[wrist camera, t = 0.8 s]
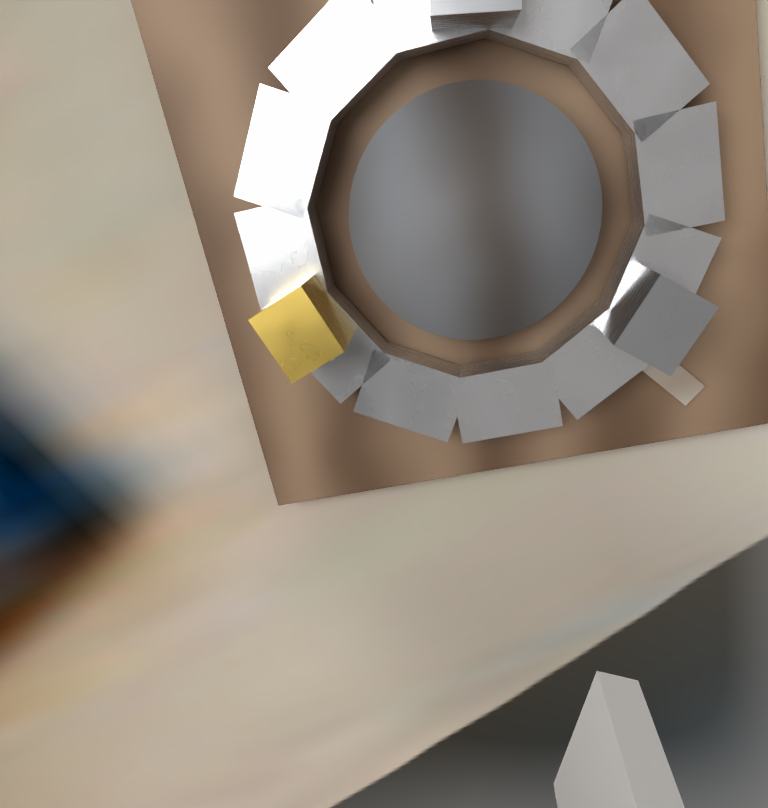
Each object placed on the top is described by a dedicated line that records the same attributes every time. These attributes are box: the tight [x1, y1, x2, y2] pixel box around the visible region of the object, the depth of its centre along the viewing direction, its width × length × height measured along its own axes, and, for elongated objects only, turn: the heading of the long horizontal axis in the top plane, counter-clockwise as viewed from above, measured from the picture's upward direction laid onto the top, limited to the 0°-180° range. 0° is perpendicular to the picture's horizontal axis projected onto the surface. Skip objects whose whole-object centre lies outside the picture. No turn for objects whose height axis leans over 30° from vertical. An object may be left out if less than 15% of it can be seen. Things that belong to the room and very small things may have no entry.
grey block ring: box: [234, 0, 725, 443], centre depth 28 cm, size 19×19×5 cm
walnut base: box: [131, 0, 768, 505], centre depth 31 cm, size 24×24×4 cm
